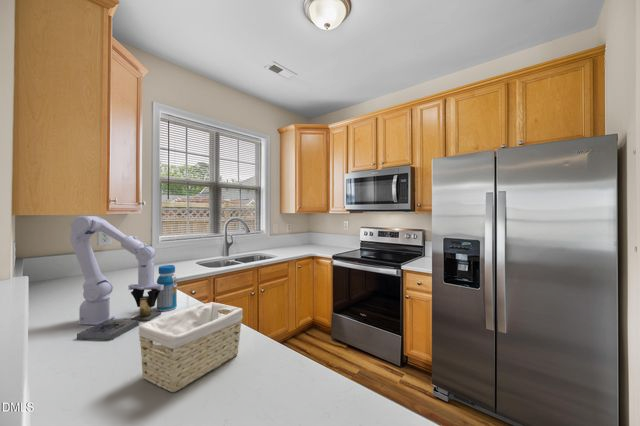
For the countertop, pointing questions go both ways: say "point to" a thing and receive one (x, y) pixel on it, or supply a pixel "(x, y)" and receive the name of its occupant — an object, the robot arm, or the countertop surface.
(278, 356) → the countertop surface
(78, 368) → the countertop surface
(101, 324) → the housing
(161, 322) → the storage basket
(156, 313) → the mat
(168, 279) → the blue bottle
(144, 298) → the cylindrical knob
